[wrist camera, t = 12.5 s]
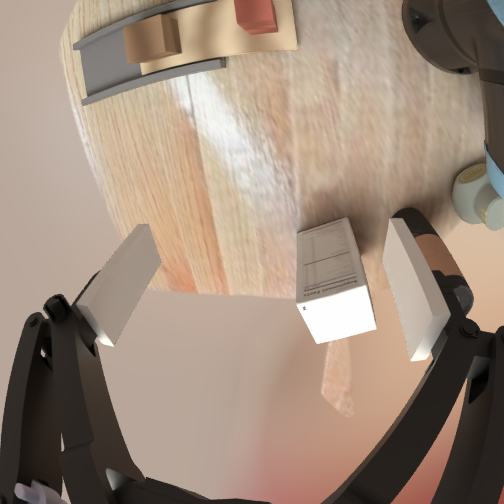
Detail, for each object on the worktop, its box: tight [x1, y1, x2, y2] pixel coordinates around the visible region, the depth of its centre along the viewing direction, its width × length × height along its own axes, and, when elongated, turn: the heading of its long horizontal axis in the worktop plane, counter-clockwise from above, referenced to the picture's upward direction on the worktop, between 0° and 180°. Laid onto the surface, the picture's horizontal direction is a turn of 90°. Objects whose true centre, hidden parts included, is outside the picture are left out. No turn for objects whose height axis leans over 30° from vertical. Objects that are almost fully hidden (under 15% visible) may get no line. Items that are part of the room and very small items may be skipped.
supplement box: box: [296, 217, 377, 344], centre depth 41 cm, size 10×9×17 cm
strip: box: [140, 0, 298, 75], centre depth 25 cm, size 22×9×10 cm, turn 96°
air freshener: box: [452, 163, 504, 231], centre depth 32 cm, size 11×8×10 cm
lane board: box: [73, 0, 226, 106], centre depth 31 cm, size 24×12×3 cm, turn 96°
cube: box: [123, 14, 182, 64], centre depth 27 cm, size 6×6×6 cm
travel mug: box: [392, 208, 474, 316], centre depth 35 cm, size 8×8×20 cm
